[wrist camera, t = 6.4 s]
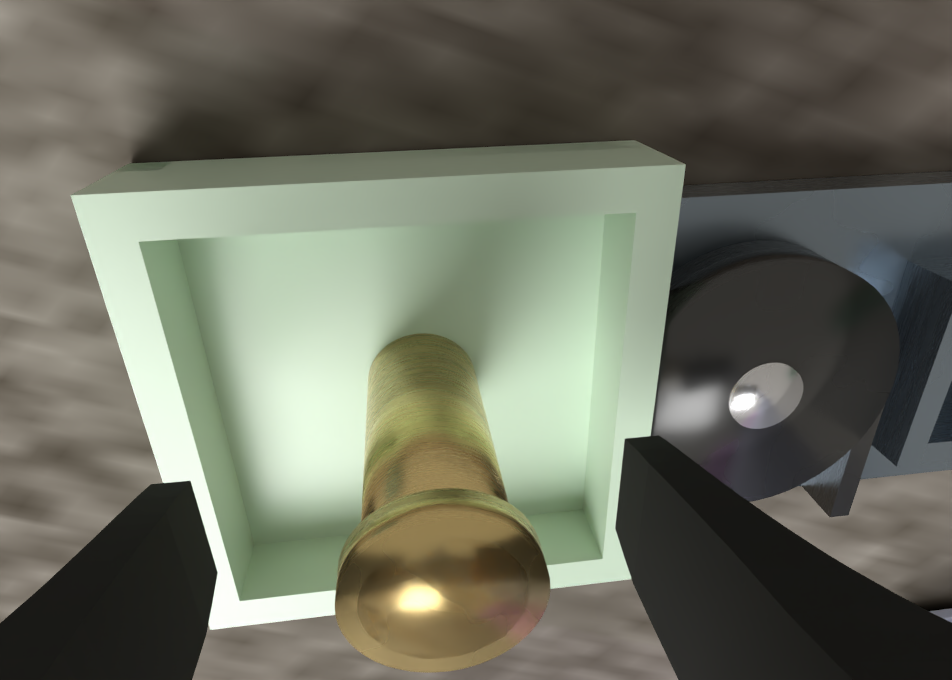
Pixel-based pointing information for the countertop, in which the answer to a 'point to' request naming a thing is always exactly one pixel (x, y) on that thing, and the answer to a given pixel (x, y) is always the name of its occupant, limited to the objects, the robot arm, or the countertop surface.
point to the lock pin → (435, 523)
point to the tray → (385, 335)
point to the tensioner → (811, 333)
